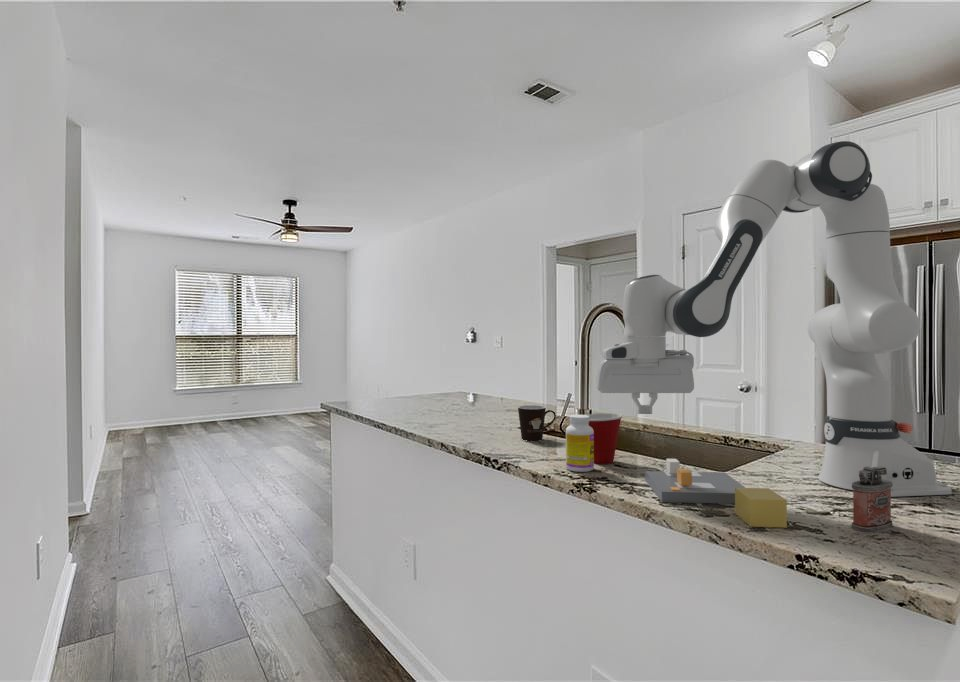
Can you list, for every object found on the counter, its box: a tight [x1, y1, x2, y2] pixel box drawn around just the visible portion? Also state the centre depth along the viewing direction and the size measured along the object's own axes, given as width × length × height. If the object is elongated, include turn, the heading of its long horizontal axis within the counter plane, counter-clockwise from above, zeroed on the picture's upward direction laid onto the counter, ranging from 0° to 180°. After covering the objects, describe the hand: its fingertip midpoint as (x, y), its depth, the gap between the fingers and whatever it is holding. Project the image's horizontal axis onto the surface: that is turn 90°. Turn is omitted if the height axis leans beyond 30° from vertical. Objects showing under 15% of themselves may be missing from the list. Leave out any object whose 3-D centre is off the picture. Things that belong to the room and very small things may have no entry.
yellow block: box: [734, 487, 788, 529], centre depth 90 cm, size 6×7×5 cm
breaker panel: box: [644, 470, 746, 505], centre depth 106 cm, size 17×15×2 cm
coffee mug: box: [517, 404, 557, 442], centre depth 160 cm, size 12×9×10 cm
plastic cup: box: [586, 412, 623, 465], centre depth 132 cm, size 11×11×12 cm
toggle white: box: [665, 458, 681, 474], centre depth 112 cm, size 2×3×2 cm, turn 174°
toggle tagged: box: [677, 468, 693, 485], centre depth 104 cm, size 2×3×2 cm, turn 174°
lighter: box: [851, 466, 893, 534], centre depth 86 cm, size 8×3×10 cm, turn 113°
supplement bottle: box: [565, 414, 595, 473], centre depth 124 cm, size 7×7×13 cm
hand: (644, 413), depth 113 cm, fingers closed
